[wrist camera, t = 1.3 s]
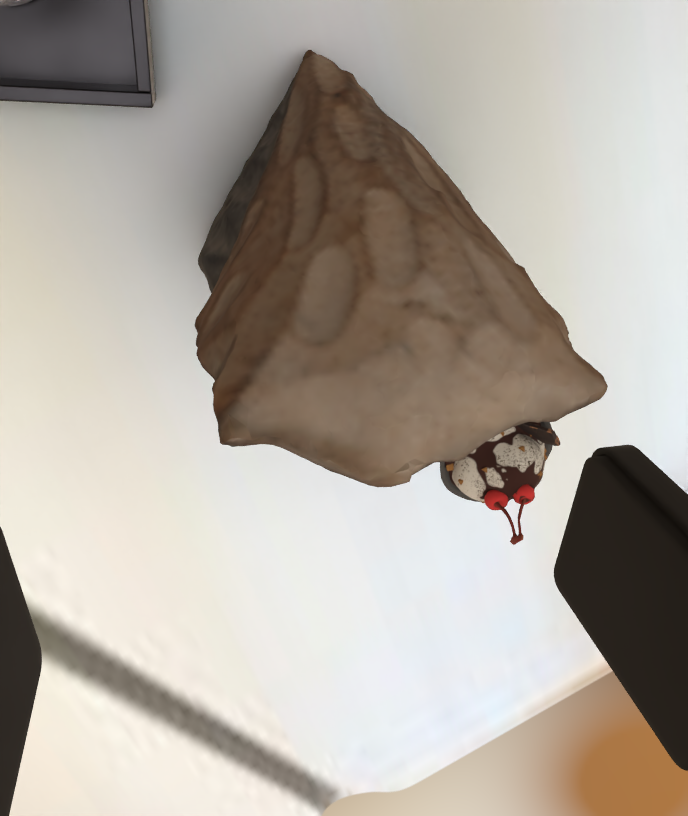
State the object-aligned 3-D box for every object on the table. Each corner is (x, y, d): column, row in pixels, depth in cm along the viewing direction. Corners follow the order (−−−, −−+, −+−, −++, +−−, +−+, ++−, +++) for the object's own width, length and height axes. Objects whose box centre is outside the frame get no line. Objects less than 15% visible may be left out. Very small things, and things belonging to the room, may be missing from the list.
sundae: (391, 422, 44) (476, 578, 31) (382, 337, 40) (474, 474, 28) (479, 401, 45) (596, 544, 32) (478, 316, 41) (610, 440, 28)
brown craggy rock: (460, 218, 37) (688, 367, 21) (311, 360, 40) (406, 595, 23) (317, 37, 31) (479, 43, 14) (151, 222, 33) (123, 409, 17)
